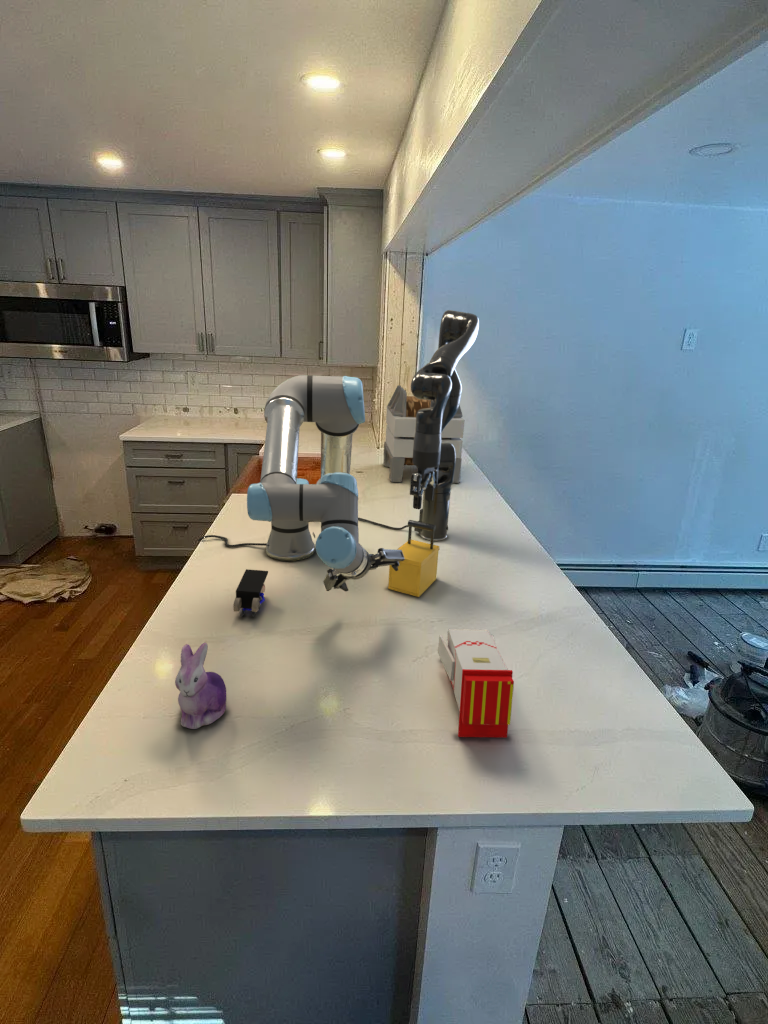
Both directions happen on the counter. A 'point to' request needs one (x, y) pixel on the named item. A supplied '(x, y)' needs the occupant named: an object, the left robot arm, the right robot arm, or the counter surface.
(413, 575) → the chest
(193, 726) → the figurine
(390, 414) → the grey storage bin
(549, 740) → the counter surface
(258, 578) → the figurine character
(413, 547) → the yellow handled panel
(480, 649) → the toy
